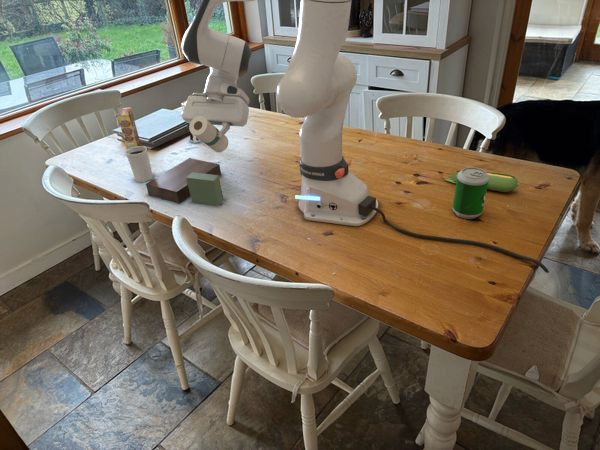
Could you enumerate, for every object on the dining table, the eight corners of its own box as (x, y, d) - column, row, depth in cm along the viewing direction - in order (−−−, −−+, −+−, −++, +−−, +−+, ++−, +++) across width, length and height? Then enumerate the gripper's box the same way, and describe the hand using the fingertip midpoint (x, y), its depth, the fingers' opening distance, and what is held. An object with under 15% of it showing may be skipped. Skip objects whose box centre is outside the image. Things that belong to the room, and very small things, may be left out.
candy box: (140, 153, 163) (128, 114, 155) (128, 155, 163) (116, 115, 154) (141, 144, 170) (131, 106, 162) (130, 146, 170) (119, 108, 161)
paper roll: (216, 146, 135) (208, 105, 128) (232, 147, 133) (225, 105, 126) (193, 164, 125) (183, 120, 117) (211, 166, 123) (201, 121, 116)
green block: (197, 196, 132) (192, 172, 128) (223, 200, 129) (219, 175, 125) (191, 202, 129) (185, 177, 125) (218, 206, 127) (213, 180, 122)
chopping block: (221, 175, 143) (219, 164, 141) (179, 203, 129) (176, 191, 127) (191, 168, 149) (189, 157, 147) (148, 195, 135) (145, 183, 133)
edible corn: (515, 196, 120) (519, 182, 117) (442, 184, 128) (443, 170, 126) (517, 188, 124) (521, 174, 121) (446, 176, 132) (447, 163, 130)
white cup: (144, 172, 149) (136, 145, 144) (158, 175, 146) (151, 148, 141) (129, 180, 145) (120, 152, 139) (143, 184, 142) (135, 156, 136)
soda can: (478, 223, 110) (486, 181, 104) (448, 216, 114) (454, 175, 107) (484, 209, 116) (493, 168, 109) (456, 203, 119) (462, 163, 113)
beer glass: (203, 143, 167) (195, 105, 159) (186, 143, 169) (177, 105, 161) (209, 136, 173) (202, 99, 165) (193, 136, 174) (185, 99, 166)
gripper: (183, 87, 128) (172, 131, 125) (245, 89, 121) (235, 135, 119) (194, 97, 133) (184, 139, 131) (254, 100, 127) (244, 144, 125)
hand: (209, 137), depth 125 cm, fingers closed on paper roll, 6 cm apart
